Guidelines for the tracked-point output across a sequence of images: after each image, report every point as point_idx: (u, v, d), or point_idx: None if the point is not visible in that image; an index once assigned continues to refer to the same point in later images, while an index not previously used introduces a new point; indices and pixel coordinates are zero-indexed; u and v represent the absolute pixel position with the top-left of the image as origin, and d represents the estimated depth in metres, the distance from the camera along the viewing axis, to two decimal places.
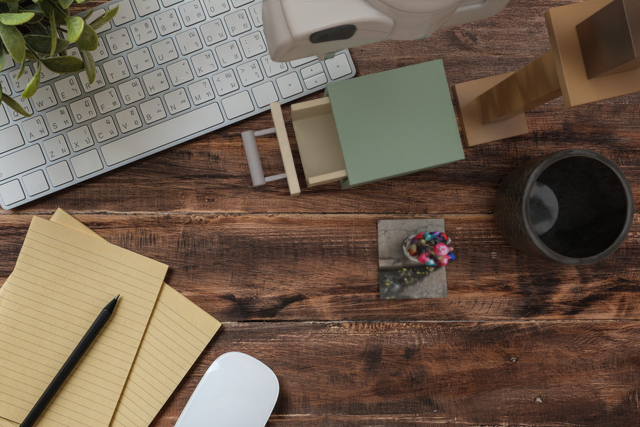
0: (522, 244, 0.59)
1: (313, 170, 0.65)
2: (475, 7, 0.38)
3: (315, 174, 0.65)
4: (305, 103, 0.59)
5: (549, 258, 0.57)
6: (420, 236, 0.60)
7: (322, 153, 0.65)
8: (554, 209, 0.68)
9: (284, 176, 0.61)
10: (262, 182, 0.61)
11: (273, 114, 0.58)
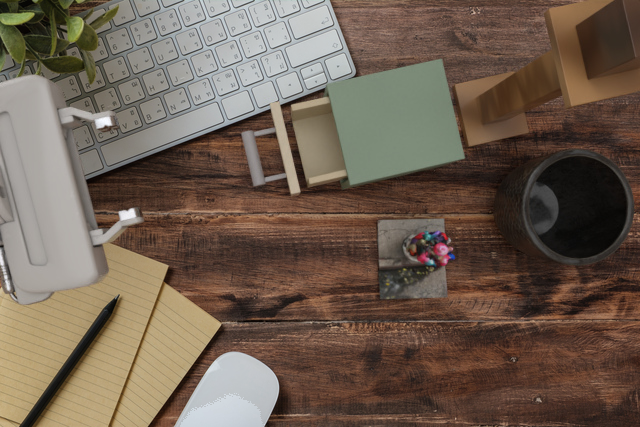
0: (522, 244, 0.59)
1: (313, 170, 0.65)
2: None
3: (315, 174, 0.65)
4: (305, 103, 0.59)
5: (549, 258, 0.57)
6: (420, 236, 0.60)
7: (322, 153, 0.65)
8: (554, 209, 0.68)
9: (284, 176, 0.61)
10: (262, 182, 0.61)
11: (273, 114, 0.58)
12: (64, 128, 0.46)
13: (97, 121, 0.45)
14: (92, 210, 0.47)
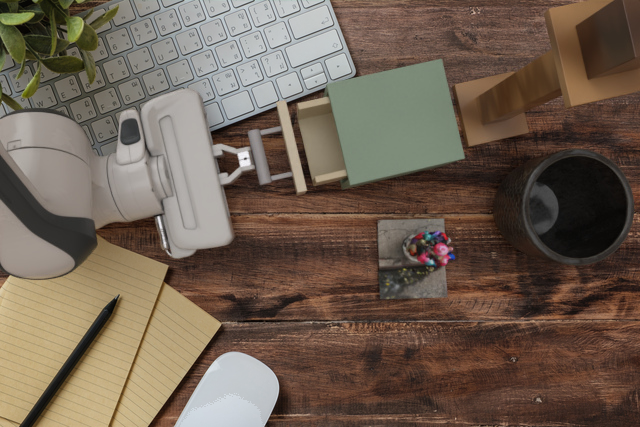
0: (522, 244, 0.59)
1: (319, 169, 0.65)
2: None
3: (321, 173, 0.65)
4: (311, 102, 0.59)
5: (549, 258, 0.57)
6: (420, 236, 0.60)
7: (327, 152, 0.65)
8: (554, 209, 0.68)
9: (290, 175, 0.61)
10: (268, 181, 0.61)
11: (280, 113, 0.58)
12: None
13: (239, 154, 0.60)
14: (223, 190, 0.62)
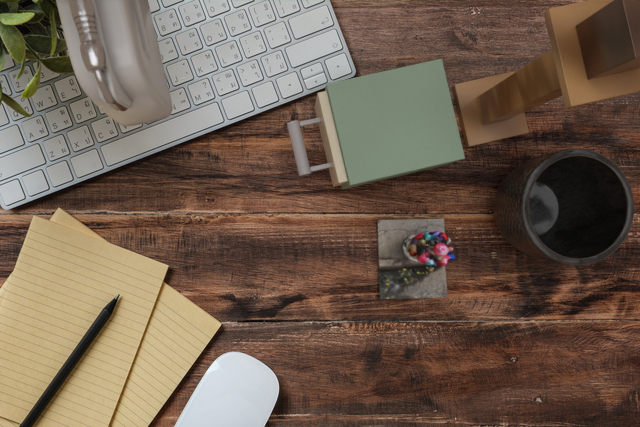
0: (522, 244, 0.59)
1: None
2: None
3: None
4: None
5: (549, 258, 0.57)
6: (420, 236, 0.60)
7: None
8: (554, 209, 0.68)
9: (329, 166, 0.62)
10: (308, 171, 0.61)
11: (321, 103, 0.59)
12: None
13: None
14: None
